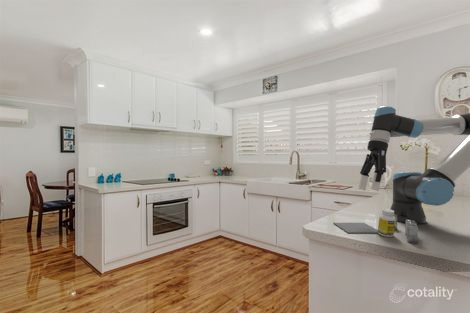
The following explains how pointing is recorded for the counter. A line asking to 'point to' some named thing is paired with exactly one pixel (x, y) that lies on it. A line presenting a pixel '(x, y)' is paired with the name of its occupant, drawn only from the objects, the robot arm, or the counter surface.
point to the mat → (357, 228)
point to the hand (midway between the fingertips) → (367, 189)
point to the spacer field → (409, 230)
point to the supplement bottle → (386, 223)
